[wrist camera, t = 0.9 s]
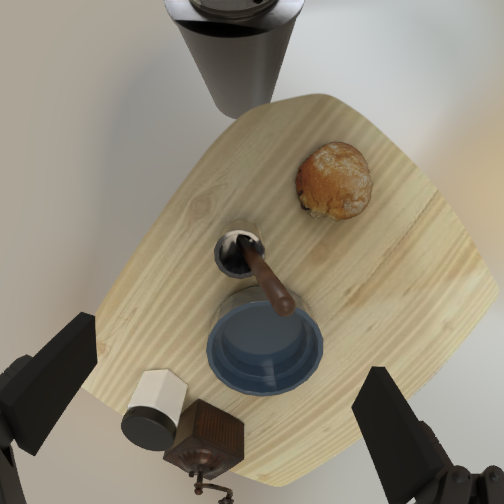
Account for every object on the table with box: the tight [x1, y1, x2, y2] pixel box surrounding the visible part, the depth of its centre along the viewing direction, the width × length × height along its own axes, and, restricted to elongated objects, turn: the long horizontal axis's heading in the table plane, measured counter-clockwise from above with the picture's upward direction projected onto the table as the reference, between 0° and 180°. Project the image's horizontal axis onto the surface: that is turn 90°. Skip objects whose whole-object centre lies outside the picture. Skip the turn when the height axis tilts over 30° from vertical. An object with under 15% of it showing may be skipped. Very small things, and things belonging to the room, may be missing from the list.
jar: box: [121, 369, 188, 451], centre depth 40 cm, size 9×8×12 cm
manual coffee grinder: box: [163, 399, 244, 504], centre depth 40 cm, size 16×11×18 cm
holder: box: [214, 219, 265, 279], centre depth 36 cm, size 5×6×8 cm
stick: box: [236, 236, 296, 317], centre depth 30 cm, size 2×2×20 cm
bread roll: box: [295, 142, 373, 221], centre depth 36 cm, size 10×10×8 cm
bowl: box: [206, 286, 323, 396], centre depth 40 cm, size 15×15×6 cm
